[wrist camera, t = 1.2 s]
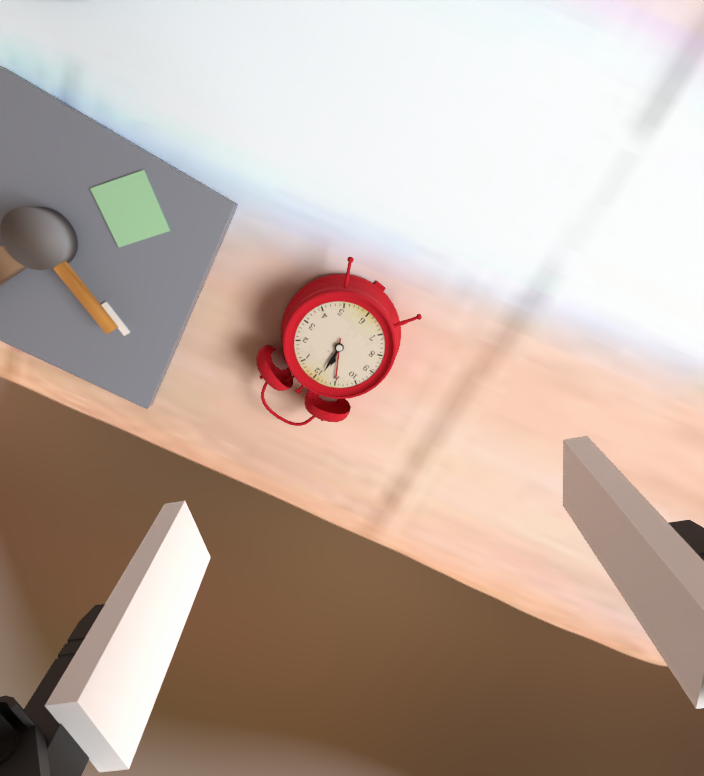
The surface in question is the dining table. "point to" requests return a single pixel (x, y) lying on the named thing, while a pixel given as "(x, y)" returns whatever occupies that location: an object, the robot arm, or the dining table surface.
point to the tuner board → (101, 246)
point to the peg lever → (46, 253)
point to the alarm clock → (334, 343)
